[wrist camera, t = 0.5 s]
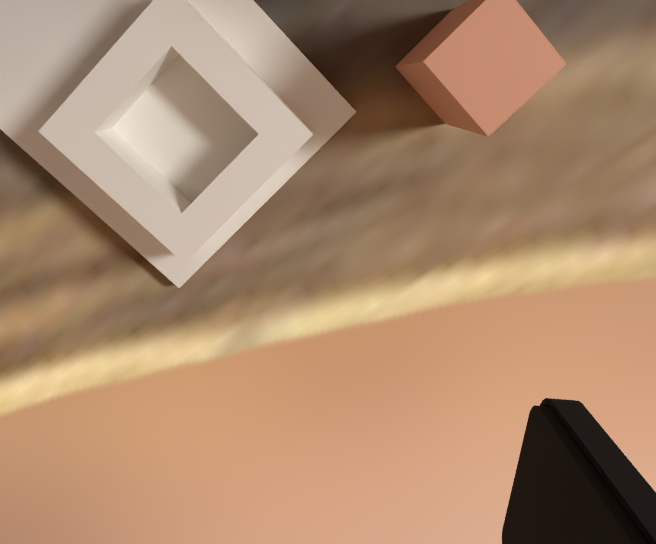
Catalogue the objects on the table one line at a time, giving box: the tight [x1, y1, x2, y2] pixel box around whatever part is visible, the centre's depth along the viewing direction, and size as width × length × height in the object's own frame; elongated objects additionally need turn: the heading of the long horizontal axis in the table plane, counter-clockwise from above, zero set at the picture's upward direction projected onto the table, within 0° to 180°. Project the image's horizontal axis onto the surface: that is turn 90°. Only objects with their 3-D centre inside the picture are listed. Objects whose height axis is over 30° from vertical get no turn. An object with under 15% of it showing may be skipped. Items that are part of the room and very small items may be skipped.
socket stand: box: [0, 0, 356, 288], centre depth 32 cm, size 15×20×4 cm
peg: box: [395, 0, 566, 136], centre depth 30 cm, size 4×4×9 cm
